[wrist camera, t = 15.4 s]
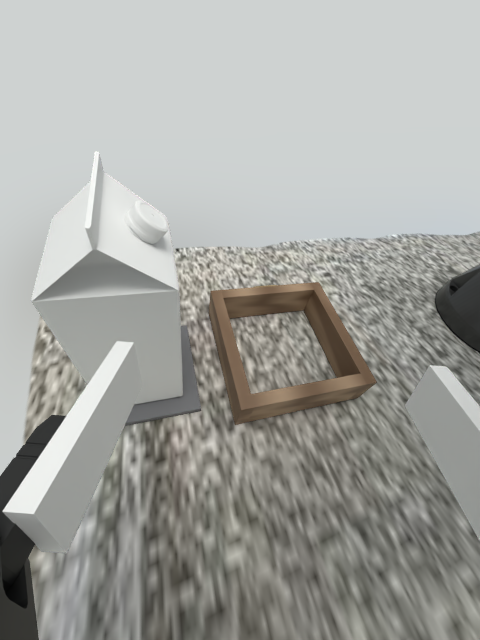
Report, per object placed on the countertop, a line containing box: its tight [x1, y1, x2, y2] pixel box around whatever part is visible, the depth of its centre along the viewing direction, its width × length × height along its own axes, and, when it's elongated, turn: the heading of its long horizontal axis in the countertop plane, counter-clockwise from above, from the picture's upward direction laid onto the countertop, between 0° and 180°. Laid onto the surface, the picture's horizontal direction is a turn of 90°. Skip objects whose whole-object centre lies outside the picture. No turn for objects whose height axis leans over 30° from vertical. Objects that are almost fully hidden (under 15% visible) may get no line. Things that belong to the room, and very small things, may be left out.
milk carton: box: [31, 151, 183, 405], centre depth 20 cm, size 7×7×19 cm
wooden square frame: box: [209, 282, 377, 425], centre depth 31 cm, size 14×15×4 cm
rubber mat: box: [125, 326, 201, 426], centre depth 28 cm, size 10×10×1 cm
